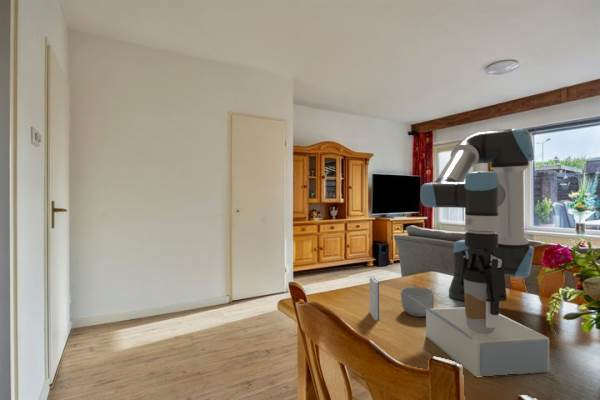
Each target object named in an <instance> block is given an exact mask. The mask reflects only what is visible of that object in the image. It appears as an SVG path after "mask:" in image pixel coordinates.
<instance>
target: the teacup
mask: <svg viewBox="0 0 600 400" xmlns="http://www.w3.org/2000/svg"><path fill="white" fill-rule="evenodd" d="M434 294H435V292H434V291H433V290H432V289H429V288H427V287H419V286H413V285H412V286H411V285H409V286H407V287H405V288H402V289H400V297H401V299H400V302H401V307H402V309H403V310H404V311H405V312H406V313H407V314H408V315H409V316H413V317H426V309H425V308H424V307H422V306H421V305H420V304H418V303H417V302H415V301H414V300H413V299H411V298H410V297H408V295H409V296H411V297H413V298H414V299H416V300H417V301H419V302H420V303H422V304H423V305H425V306H426V307H428V308H429V309H434V308H435V305H434V303H435V302H434V300H435V299H434V297H435V296H434Z"/></svg>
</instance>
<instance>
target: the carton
mask: <svg viewBox="0 0 600 400" xmlns="http://www.w3.org/2000/svg"><path fill="white" fill-rule="evenodd" d="M431 310H433V311H434V312H436V313H437V314H439V315H440V316H442V317H443V318H445V319H446V320H448V321H449V322H451V323H452V324H454V325H455V326H456V327H458V328H459V329H461V330H462V331H463V332H465V333H466V334H468V335H469V336H470V337H472V338H473V339H470V338H469V337H467V336H466V335H464V334H463V333H461V332H460V331H458V330H457V329H455V328H454V327H452V326H451V325H449V324H448V323H446V322H445V321H443V320H442V319H440V318H439V317H437V316H436V315H434V314H433V313H431V312H430V311H428V310H427V309H426V316H425V337H426V338H427V339H428V340H430V342H431V343H433V344H434V345H435V346H437V347H438V348H439V349H440V350H442V351H443V352H444V353H445V354H446V355H448V356H449V357H450V358H451V359H452V360H453V361H454V362H456V363H457V362H458V363H457V364H459V363H460V364H462V366H463V367H462V366H461V367H462V368H463V369H465V370H466V369H467V370H468V371H470V372H471V373H472V374H474V375H475V376H492V375H505V376H508V375H507V374H517V375H526V373H527V374H528V373H530V374H538V373H540V374H541V373H549V372H550V338H549V337H548V336H547V335H544V334H543V333H540V332H539V331H536V330H534V329H532V328H530V327H528V326H525V325H524V324H521V323H520V322H517V321H515V320H514V319H511V318H509V317H508V316H505V315H503V314H501V313H499V315H498V327H495V330H494V331H493V333H488V334H485V333H478V332H475V331H472V330H470V329H469V328H468V326H467V323H466V315H465V306H463V307H446V308H440V307H439V308H433V309H431ZM460 364H459V365H460ZM467 370H466V371H467ZM468 371H467V372H468ZM470 372H469V373H470ZM471 373H470V374H471ZM472 374H471V375H472ZM528 375H529V374H528Z"/></svg>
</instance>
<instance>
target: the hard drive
mask: <svg viewBox="0 0 600 400" xmlns="http://www.w3.org/2000/svg"><path fill="white" fill-rule="evenodd" d="M369 313H370V315H371V317H372V318H373V320H374V321H380V282H379V280H377V279H376V278H375V276H369Z"/></svg>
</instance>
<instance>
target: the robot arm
mask: <svg viewBox="0 0 600 400" xmlns="http://www.w3.org/2000/svg"><path fill="white" fill-rule="evenodd" d="M534 157H535V155H534V147H533V141H532V137H531V133H530V131H529V130H528V129H527V128H523V127H522V128H520V127H519V128H509V129H508V128H507V129H501V130H493V131H492V130H491V131H481V132H478V133H477V132H476V133H475V134H472V135H469V136H468V137H465V138H463V139H462V140H461V141H460V142H458V143H457V144H456V145H455V146H454V148H453V149H452V150H451V153H450V159H449V160H448V161H447V163H446V165H445V166H444V168H443V169H442V171H441V172H440V174H439V176H438V177H437V178H436V180H435V181H434V182H427V183H426V182H425V183H424V184H422V186H421V188H420V201H421V205H422V206H424V207H426V208H427V207H428V208H458V209H460V208H463V209H465V211H464V212H465V213H464V217H465V218H464V230H466V232H465V233H464V239H459V240H457V241H454V244H453V252H452V253H453V277H452V279H451V283H450V286H449V288H448V296H449V297H450V298H452V299H455V300H458V301H462V302H465V298H464V294H465V292H464V279H463V273H464V272H465V269H466V268H469V269H470V270H480V273H484V274H491V275H492V277H491V278H492V280H487V286H486V291H487V295H488V299H486V327H487V328H495V327H498V315H499V314H500V302H506V301H507V291H506V290H507V287H506V279H505V276H506V277H511V278H522V279H525V278H528V277H529V276H530V274H531V270H532V264H533V261H534V260H533V259H534V253H535V247H534V246H532V245H530V241H529V239H527V238H526V236H525V213H524V212H525V211H524V210H525V209H524V207H525V206H524V204H525V203H524V202H525V201H524V199H525V198H524V197H525V195H524V194H525V193H524V191H525V190H524V184H525V183H524V172H525V170H526V169H527V168H528V167H529V163H530V162H531V161H533V160H534ZM477 164H478V165H479V164H490V169H491V170H493V171H473V172H472V171H471V172H470V170H471V168H473V167H475V165H477ZM486 278H489V277H488V276H486ZM465 315H466V313H465Z"/></svg>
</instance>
